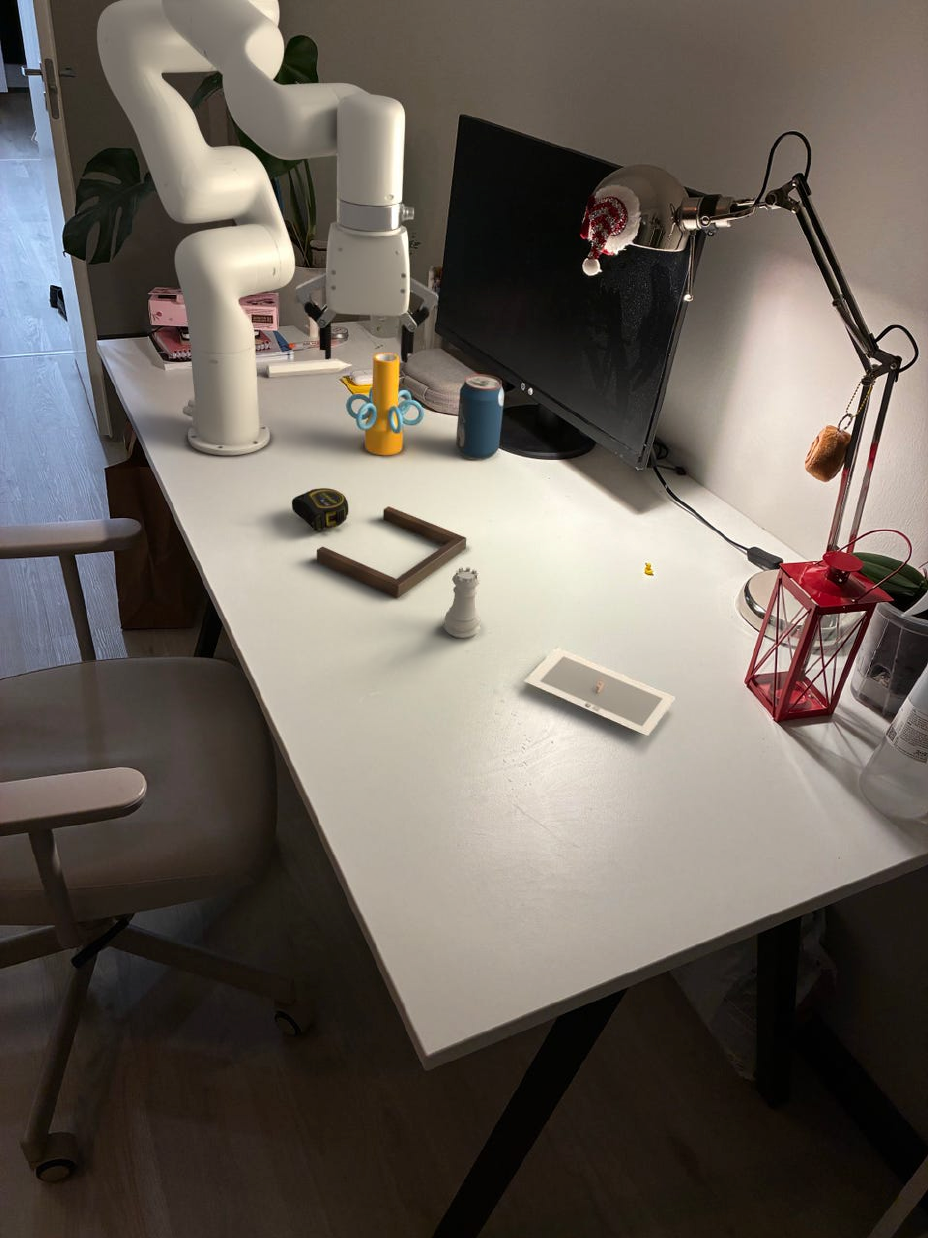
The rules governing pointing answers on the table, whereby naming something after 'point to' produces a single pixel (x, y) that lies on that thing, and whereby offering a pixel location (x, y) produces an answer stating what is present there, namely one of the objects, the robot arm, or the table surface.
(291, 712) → the table surface
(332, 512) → the tape measure
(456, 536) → the frame
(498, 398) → the soda can
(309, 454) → the table surface
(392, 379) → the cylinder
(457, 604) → the rook chess piece
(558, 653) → the touchpad
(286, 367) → the marker
